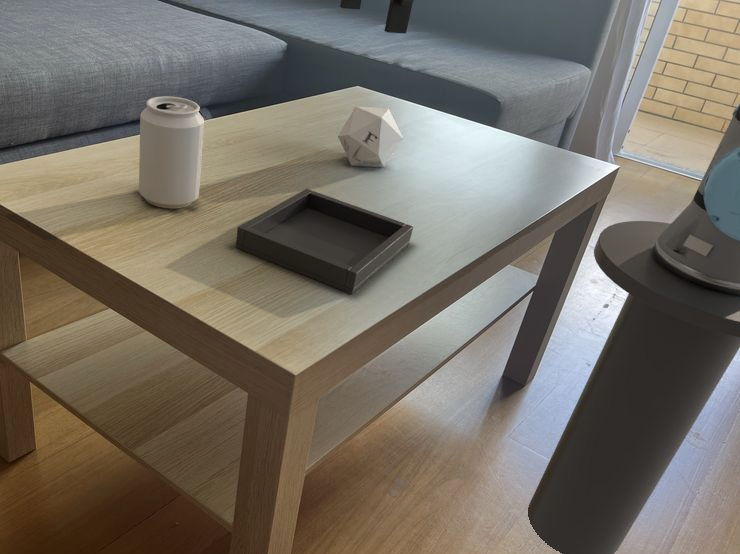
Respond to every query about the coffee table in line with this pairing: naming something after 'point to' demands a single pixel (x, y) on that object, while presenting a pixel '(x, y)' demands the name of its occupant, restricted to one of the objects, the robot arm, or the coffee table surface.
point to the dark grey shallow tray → (325, 239)
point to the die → (370, 137)
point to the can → (170, 151)
